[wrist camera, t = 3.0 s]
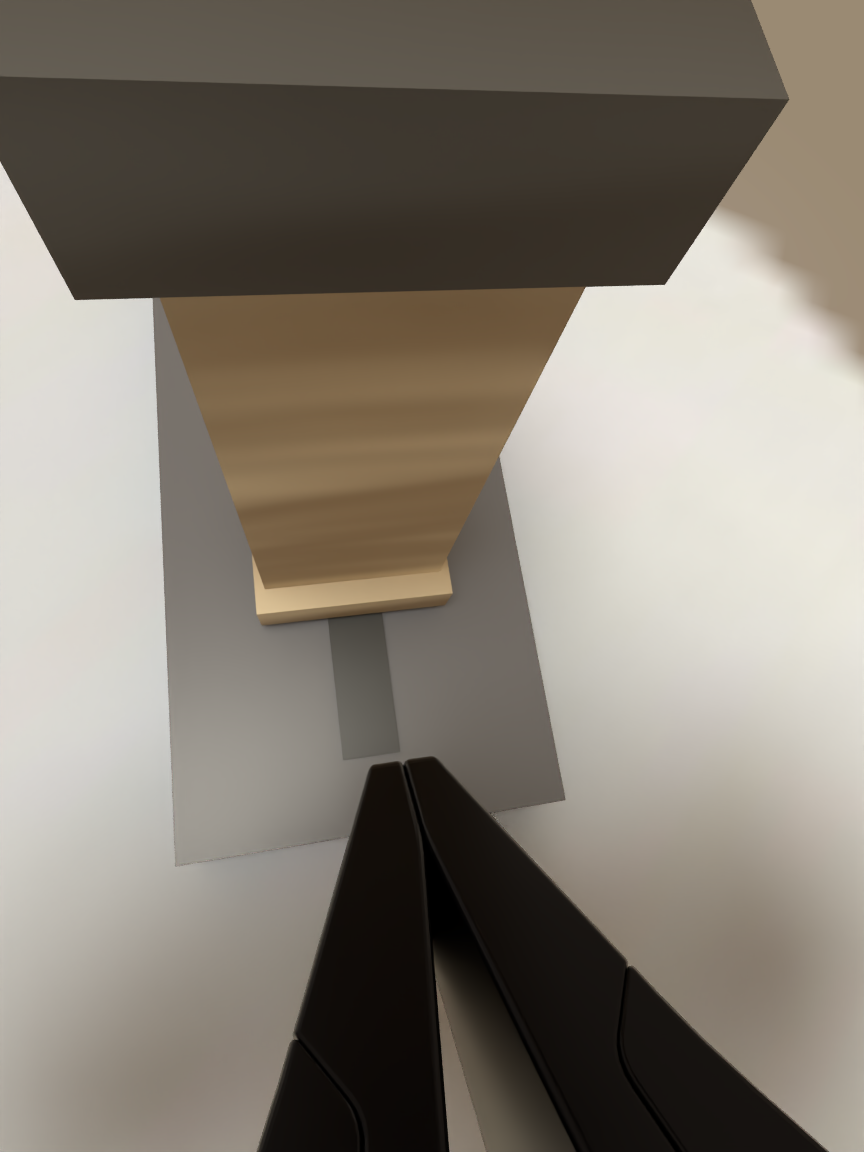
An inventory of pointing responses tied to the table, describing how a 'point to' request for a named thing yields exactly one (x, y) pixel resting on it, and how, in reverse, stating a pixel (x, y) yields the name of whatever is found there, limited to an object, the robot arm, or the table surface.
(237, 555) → the fader console
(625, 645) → the table surface
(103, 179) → the fader lever
